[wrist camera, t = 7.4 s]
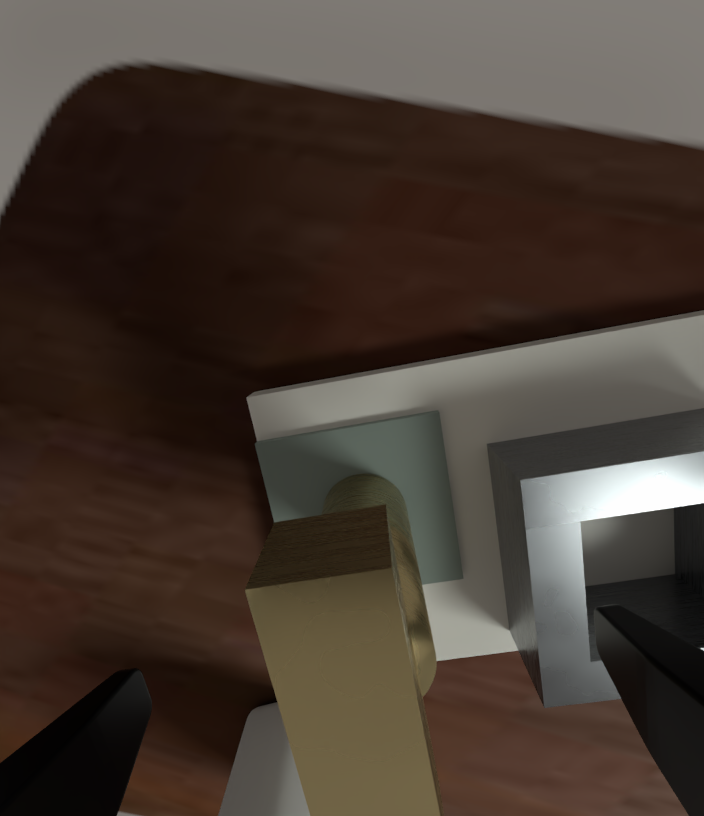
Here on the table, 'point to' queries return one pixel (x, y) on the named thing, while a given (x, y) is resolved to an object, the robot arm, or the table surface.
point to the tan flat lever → (351, 652)
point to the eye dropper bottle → (264, 770)
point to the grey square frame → (562, 543)
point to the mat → (379, 455)
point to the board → (506, 420)
